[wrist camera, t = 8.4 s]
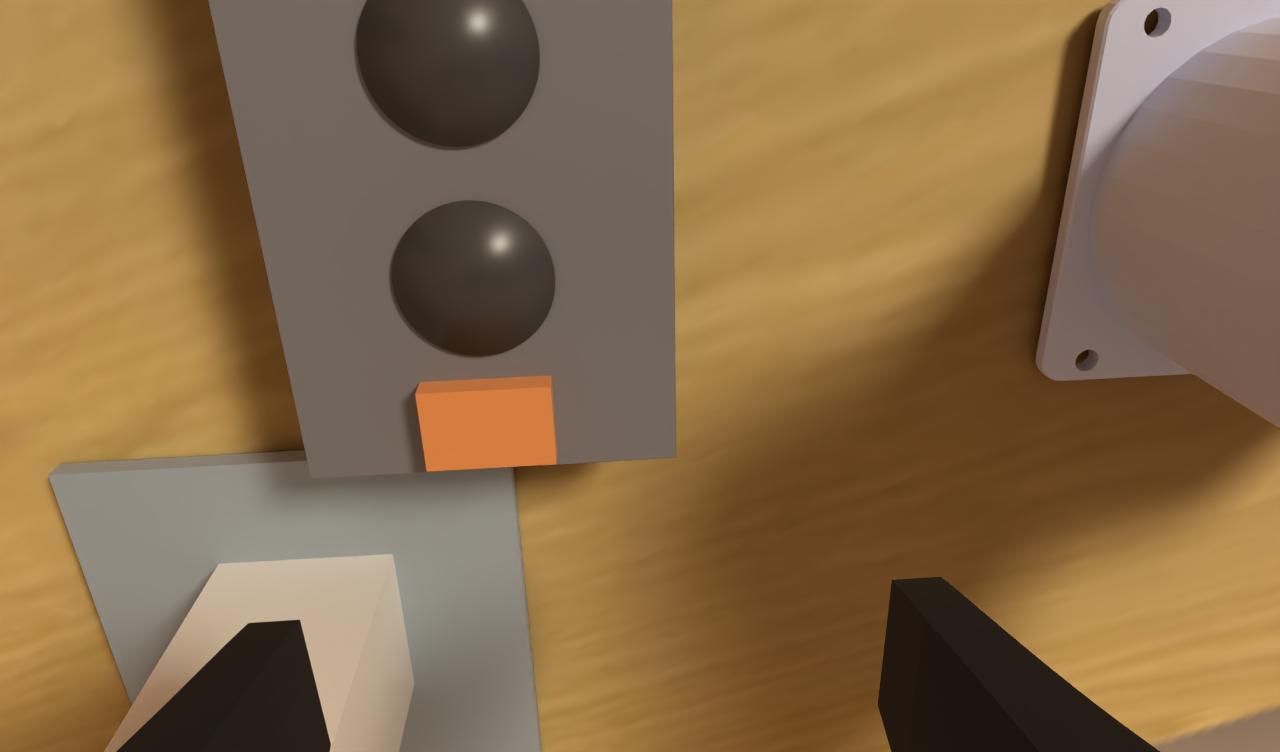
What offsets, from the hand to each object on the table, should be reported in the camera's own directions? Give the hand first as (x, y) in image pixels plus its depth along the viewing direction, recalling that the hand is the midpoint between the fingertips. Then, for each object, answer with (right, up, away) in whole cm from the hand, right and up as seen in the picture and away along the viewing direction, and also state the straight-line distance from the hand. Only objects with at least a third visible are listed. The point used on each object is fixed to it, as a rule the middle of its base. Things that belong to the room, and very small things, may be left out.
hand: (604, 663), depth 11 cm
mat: (-7, -3, +11) cm, 13 cm away
